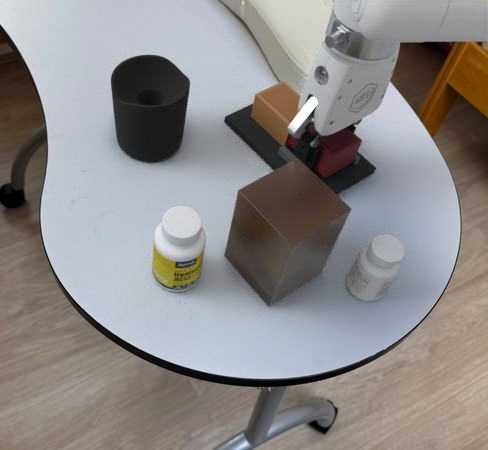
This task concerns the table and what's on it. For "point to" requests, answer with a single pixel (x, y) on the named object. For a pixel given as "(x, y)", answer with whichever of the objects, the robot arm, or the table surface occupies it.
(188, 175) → the table surface
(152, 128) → the pen holder
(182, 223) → the supplement bottle
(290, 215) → the tall brown block
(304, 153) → the robot arm
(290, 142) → the red lidded box
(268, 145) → the base mat
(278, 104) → the small orange-brown block
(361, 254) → the pill bottle
